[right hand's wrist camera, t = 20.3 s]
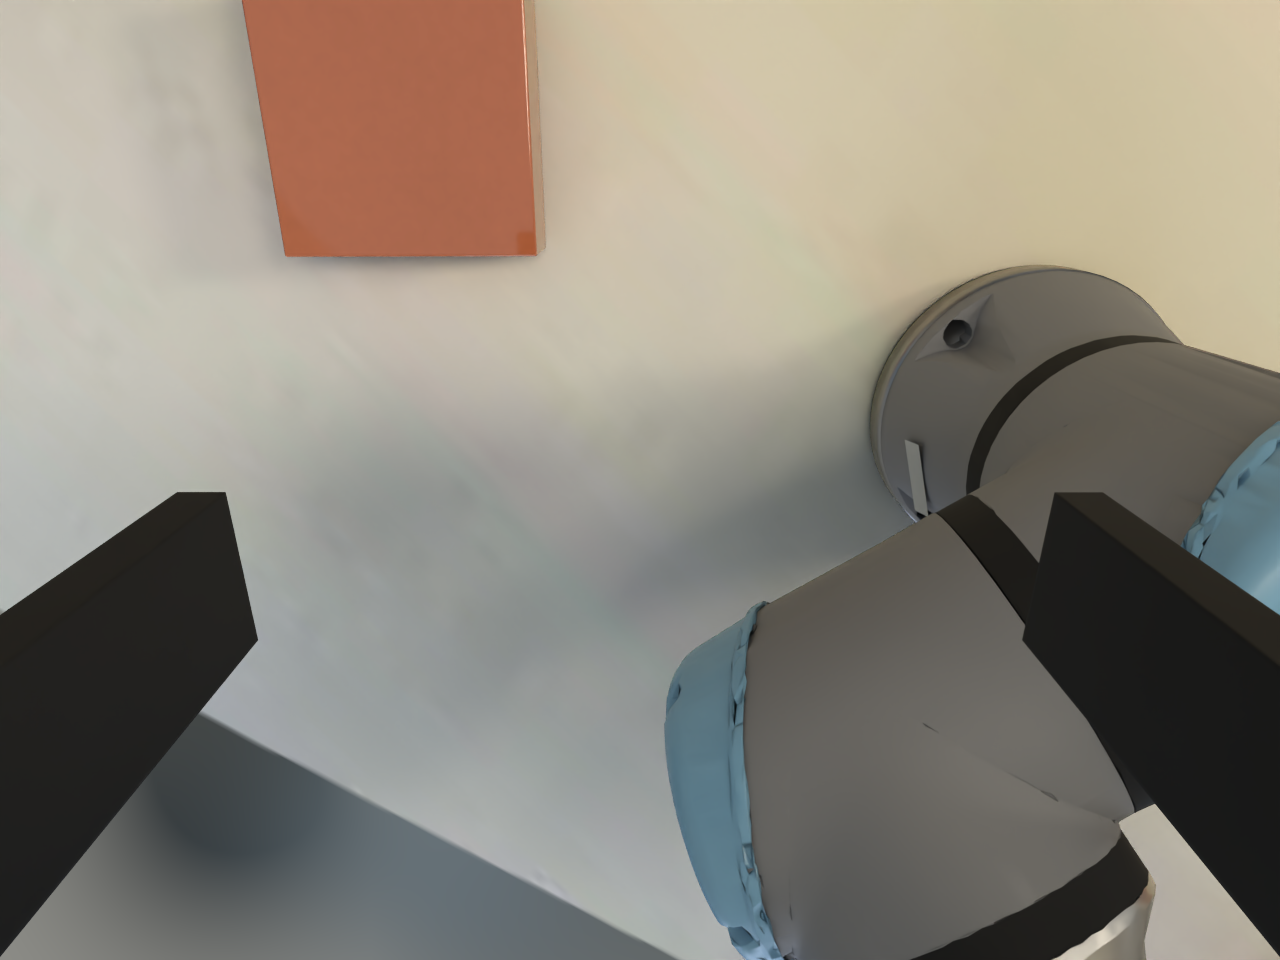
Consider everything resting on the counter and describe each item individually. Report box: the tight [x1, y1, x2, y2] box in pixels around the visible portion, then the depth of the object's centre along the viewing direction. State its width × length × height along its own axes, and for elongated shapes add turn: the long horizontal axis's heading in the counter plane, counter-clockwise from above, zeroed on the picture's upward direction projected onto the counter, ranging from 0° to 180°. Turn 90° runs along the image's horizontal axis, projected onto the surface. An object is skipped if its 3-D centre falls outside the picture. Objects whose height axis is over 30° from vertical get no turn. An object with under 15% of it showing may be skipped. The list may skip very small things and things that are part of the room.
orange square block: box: [242, 0, 546, 257], centre depth 34 cm, size 11×11×5 cm
